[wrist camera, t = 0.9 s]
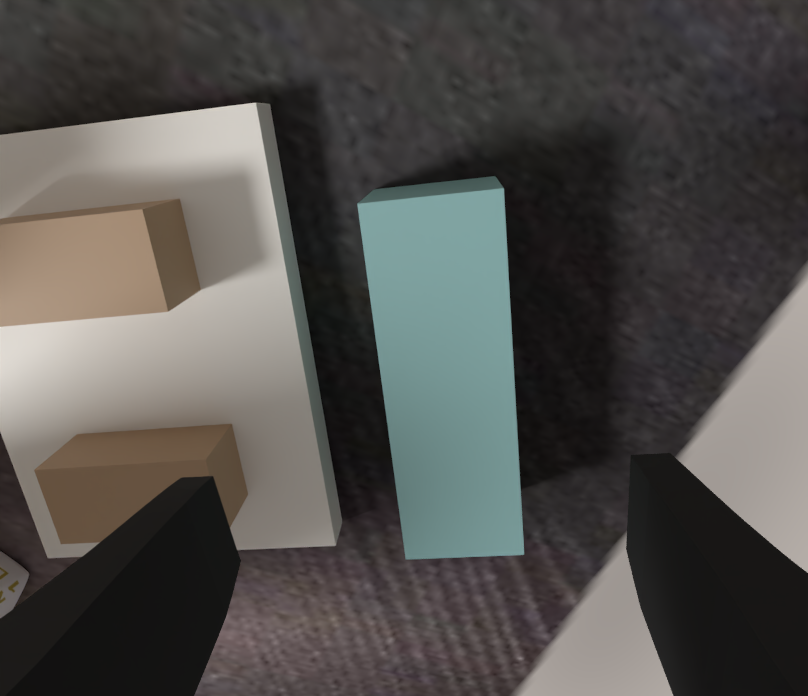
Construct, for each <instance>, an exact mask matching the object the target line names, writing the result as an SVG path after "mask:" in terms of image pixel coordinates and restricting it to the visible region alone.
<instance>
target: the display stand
mask: <svg viewBox="0 0 808 696" xmlns="http://www.w3.org/2000/svg"><path fill="white" fill-rule="evenodd" d="M0 433H1V435H2V438H3V441H4V443H5V446H6V449H7V451H8V454H9V456H10V459H11V462H12V464H13V467H14V470H15V472H16V475H17V478H18V480H19V483H20V486H21V488H22V491H23V494H24V496H25V499H26V502H27V504H28V507H29V510H30V512H31V515H32V518H33V520H34V523H35V526H36V528H37V531H38V534H39V536H40V539H41V542H42V544H43V547H44V549H45V552H46V555H47V557H48V558H68V557H83V556H84V555H85V554H86V553H87V552H89V551H90V550H91V549H92V548H94V547H95V546H96V545H97V544H99V543H100V542H101V541H102V540H103V539H105V538H106V537H107V536H108V535H110V534H111V533H112V532H113V531H114V530H116V529H117V528H118V527H119V526H121V525H122V524H123V523H124V522H125V521H127V520H128V519H129V518H130V517H132V516H133V515H134V514H135V513H136V512H138V511H139V510H140V509H141V508H142V507H144V506H145V505H146V504H147V503H149V502H150V501H151V500H152V499H154V498H155V497H156V496H157V495H159V494H160V493H161V492H162V491H164V490H165V489H166V488H167V487H169V486H170V485H171V484H173V483H174V482H176V481H177V480H178V479H180V478H182V477H202V476H213V477H214V480H215V483H216V486H217V489H218V492H219V496H220V499H221V502H222V505H223V508H224V511H225V514H226V517H227V520H228V523H229V526H230V530H231V533H232V536H233V539H234V542H235V545H236V548H237V550H251V549H274V548H297V547H320V546H336V543H337V540H338V536H339V532H340V529H341V525H342V517H341V511H340V505H339V499H338V494H337V488H336V482H335V476H334V471H333V465H332V459H331V453H330V448H329V442H328V436H327V430H326V424H325V419H324V413H323V407H322V401H321V396H320V390H319V384H318V378H317V373H316V367H315V361H314V355H313V349H312V344H311V338H310V332H309V326H308V321H307V315H306V309H305V303H304V298H303V292H302V286H301V280H300V274H299V269H298V263H297V257H296V251H295V246H294V240H293V234H292V228H291V222H290V217H289V211H288V205H287V199H286V194H285V188H284V182H283V176H282V171H281V165H280V159H279V153H278V147H277V142H276V136H275V130H274V124H273V119H272V113H271V107H270V104H266V103H249V104H241V105H233V106H225V107H217V108H209V109H201V110H193V111H186V112H178V113H170V114H162V115H154V116H146V117H138V118H130V119H122V120H115V121H107V122H99V123H91V124H83V125H75V126H67V127H59V128H52V129H44V130H36V131H28V132H20V133H12V134H4V135H0Z"/></svg>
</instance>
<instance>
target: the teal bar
mask: <svg viewBox="0 0 808 696" xmlns="http://www.w3.org/2000/svg"><path fill="white" fill-rule="evenodd" d="M357 205H358V212H359V219H360V227H361V234H362V242H363V249H364V256H365V264H366V271H367V278H368V286H369V293H370V300H371V308H372V315H373V322H374V330H375V337H376V344H377V352H378V359H379V366H380V374H381V381H382V388H383V396H384V403H385V410H386V418H387V425H388V432H389V440H390V447H391V455H392V462H393V469H394V477H395V484H396V491H397V499H398V506H399V513H400V521H401V528H402V535H403V543H404V550H405V557H406V560H407V559H432V558H457V557H481V556H506V555H524V542H523V524H522V506H521V488H520V470H519V452H518V434H517V416H516V398H515V380H514V362H513V344H512V326H511V308H510V290H509V272H508V254H507V236H506V218H505V200H504V188H503V186H502V185H501V184H500V182H499V181H498V179H497V178H496V177H495V176H491V177H482V178H473V179H464V180H455V181H446V182H436V183H427V184H418V185H409V186H400V187H391V188H381V189H374V190H373V191H372V192H370V193H369V194H368V195H367V196H366V197H365V198H364V199H362V200H361V201H360V202H359V203H358V204H357Z"/></svg>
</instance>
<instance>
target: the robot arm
mask: <svg viewBox="0 0 808 696" xmlns="http://www.w3.org/2000/svg"><path fill="white" fill-rule="evenodd" d="M626 550H627V554H628V558H629V562H630V566H631V570H632V575H633V579H634V583H635V587H636V590H637V595H638V599H639V602H640V606H641V610H642V612H643V615H644V618H645V621H646V623H647V626H648V629H649V631H650V634H651V637H652V640H653V642H654V645H655V648H656V650H657V653H658V656H659V658H660V661H661V663H662V666H663V669H664V672H665V674H666V677H667V680H668V682H669V685H670V687H671V690H672V693H673V695H674V696H808V573H807V572H806V571H804V570H803V569H802V568H800V567H799V566H798V565H796V564H795V563H794V562H793V561H791V560H790V559H789V558H788V557H786V556H785V555H784V554H783V553H781V552H780V551H779V550H778V549H777V548H776V547H774V546H773V545H772V544H771V543H769V541H767V540H766V539H765V538H764V537H763V536H761V535H760V534H759V533H758V532H757V531H756V530H754V529H753V528H752V527H751V526H750V525H749V524H747V523H746V522H745V521H744V520H743V519H742V518H741V517H739V516H738V515H737V514H736V513H735V512H734V511H733V510H731V509H730V508H729V507H728V506H727V505H726V504H725V503H724V502H723V501H722V500H721V499H719V498H718V497H717V496H716V495H715V494H714V493H713V492H712V491H710V489H708V488H707V487H706V486H705V485H704V484H703V483H702V482H701V481H700V480H699V479H698V478H697V477H696V476H694V475H693V474H692V473H691V472H690V471H689V470H688V469H687V468H686V467H685V466H684V465H683V464H681V463H680V462H679V461H678V460H677V459H676V458H675V457H674V456H672V455H671V454H670V453H664V454H644V455H631V465H630V485H629V505H628V525H627V546H626ZM240 562H241V560H240V557H239V554H238V551H237V548H236V545H235V542H234V539H233V536H232V533H231V530H230V526H229V523H228V520H227V517H226V514H225V511H224V508H223V505H222V502H221V499H220V496H219V492H218V489H217V486H216V483H215V480H214V477H213V476H202V477H182V478H180V479H178V480H177V481H176V482H174V483H173V484H171V485H170V486H169V487H167V488H166V489H165V490H164V491H162V492H161V493H160V494H159V495H157V496H156V497H155V498H154V499H152V500H151V501H150V502H149V503H147V504H146V505H145V506H144V507H142V508H141V509H140V510H139V511H138V512H136V513H135V514H134V515H133V516H132V517H130V518H129V519H128V520H127V521H125V522H124V523H123V524H122V525H121V526H119V527H118V528H117V529H116V530H114V531H113V532H112V533H111V534H110V535H108V536H107V537H106V538H105V539H103V540H102V541H101V542H100V543H99V544H97V545H96V546H95V547H94V548H92V549H91V550H90V551H89V552H87V553H86V554H85V555H84V556H83V557H81V558H80V559H79V560H78V561H76V562H75V563H74V564H72V565H71V566H70V567H68V568H67V569H66V570H64V571H63V572H62V573H60V574H59V575H58V576H57V577H55V578H54V579H53V580H51V581H50V582H49V583H47V584H46V585H45V586H43V587H42V588H41V589H39V590H38V591H37V592H36V593H34V594H33V595H32V596H30V597H29V598H28V599H26V600H25V601H24V602H22V603H21V604H20V605H18V606H17V607H16V608H14V609H13V610H11V611H10V612H9V613H7V614H6V615H4V616H3V617H2V618H0V696H194V694H195V692H196V690H197V687H198V685H199V682H200V680H201V677H202V675H203V673H204V670H205V668H206V665H207V663H208V660H209V658H210V655H211V653H212V651H213V648H214V646H215V643H216V641H217V638H218V636H219V633H220V631H221V628H222V625H223V623H224V620H225V618H226V615H227V611H228V608H229V604H230V601H231V597H232V594H233V590H234V586H235V582H236V578H237V574H238V570H239V566H240Z"/></svg>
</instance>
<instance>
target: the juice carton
mask: <svg viewBox="0 0 808 696" xmlns="http://www.w3.org/2000/svg"><path fill="white" fill-rule="evenodd" d="M28 577H29V573H28V571H27V570H26V569H24V568H23V567H22V566H21V565H19V564H18V563H17V562H16V561H14V560H13V559H11V558H10V557H9V556H7V555H6V554H4V553H3V552H1V551H0V618H2V617H3V616H4V615H6V614H7V613H9V612H10V611H11V610H13V608H14V606H15V605H16V603H17V601H18V599H19V597H20V595H21V593H22V591H23V589H24V587H25V585H26V582H27V580H28Z"/></svg>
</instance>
